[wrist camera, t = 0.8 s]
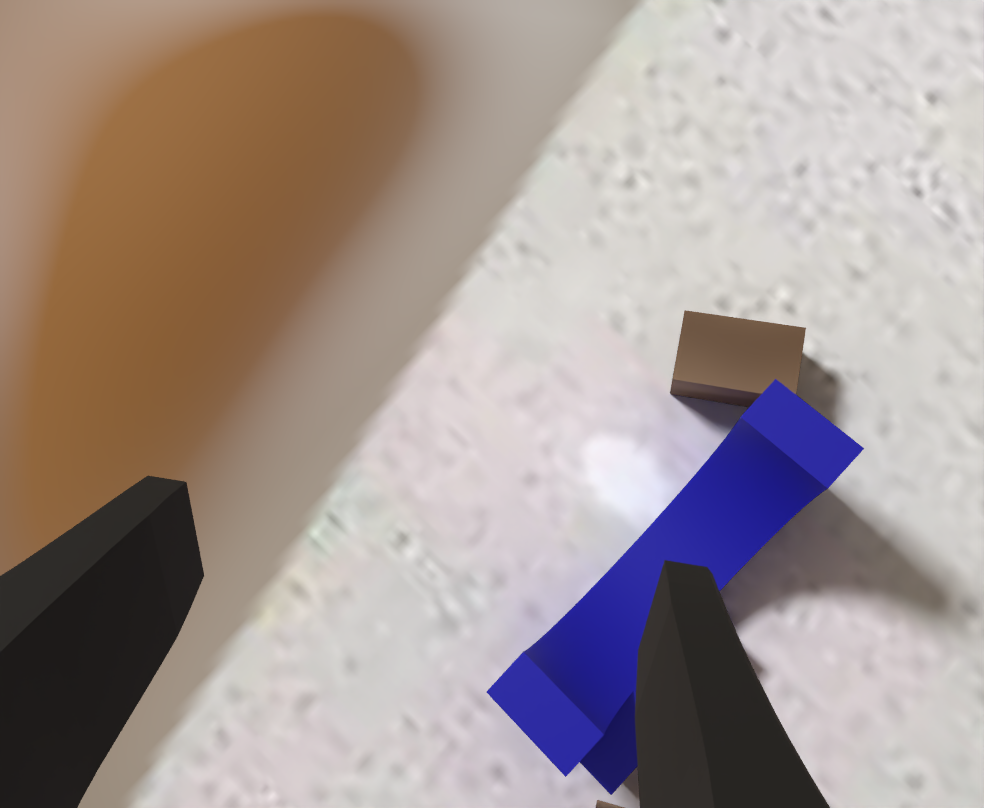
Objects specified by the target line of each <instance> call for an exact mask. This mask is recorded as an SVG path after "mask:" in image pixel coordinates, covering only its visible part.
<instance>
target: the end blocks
mask: <svg viewBox="0 0 984 808" xmlns="http://www.w3.org/2000/svg"><path fill="white" fill-rule="evenodd" d="M805 330H806V328H803V327H796V326H789V325H782V324H775V323H768V322H761V321H754V320H747V319H740V318H733V317H726V316H720V315H713V314H706V313H699V312H692V311H685V312H684V318H683V323H682V329H681V334H680V340H679V346H678V351H677V357H676V362H675V368H674V373H673V379H672V385H671V391H670V394H674V395H680V396H686V397H692V398H698V399H704V400H710V401H716V402H722V403H728V404H734V405H740V406H746V407H750V406H751V405H752V404H753V403H754V402H755V401H756V399H757V398H758V397H759V396H760V395H761V394H762V393H763V392H764V391H765V390H766V389H767V388H768V387H769V385H770V384H771V383H772V382H773V381H774V380H775V379H777V380H778V381H779V382H780V383H782V384H783V385H784V386H785V387H787V388H788V389H789V390H791V391H792V392H793V393H794V394H796V392H797V385H798V378H799V371H800V364H801V357H802V351H803V344H804V337H805ZM596 808H624V807H620V806H617V805H613V804H610V803H606V802H603V801H599V800H597V804H596Z"/></svg>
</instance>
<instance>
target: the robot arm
mask: <svg viewBox="0 0 984 808" xmlns="http://www.w3.org/2000/svg"><path fill="white" fill-rule="evenodd" d="M203 577H204V572H203V567H202V562H201V557H200V551H199V546H198V541H197V536H196V530H195V525H194V520H193V515H192V509H191V505H190V499H189V494H188V488H187V483H186V482H184V481H177V480H171V479H165V478H159V477H152V476H147V477H145V478H144V479H142V480H141V481H139V482H138V483H136V484H135V485H133V486H132V487H130V488H129V489H127V490H126V491H124V492H123V493H122V494H120V495H119V496H117V497H116V498H114V499H113V500H112V501H110V502H109V503H107V504H106V505H104V506H103V507H102V508H100V509H99V510H97V511H96V512H95V513H93V514H92V515H90V516H89V517H87V518H86V519H84V520H83V521H82V522H80V523H79V524H77V525H76V526H74V527H73V528H72V529H70V530H69V531H67V532H66V533H64V534H63V535H61V536H60V537H58V538H57V539H55V540H54V541H53V542H51V543H49V544H48V545H47V546H45V547H44V548H42V549H41V550H39V551H38V552H36V553H35V554H33V555H32V556H30V557H29V558H27V559H26V560H25V561H23V562H21V563H20V564H18V565H17V566H15V567H14V568H12V569H11V570H9V571H8V572H6V573H5V574H3V575H2V576H0V808H77V807H78V805H79V803H80V801H81V799H82V797H83V795H84V794H85V792H86V790H87V788H88V787H89V785H90V783H91V781H92V779H93V777H94V776H95V774H96V772H97V770H98V768H99V767H100V765H101V763H102V762H103V760H104V759H105V757H106V755H107V754H108V752H109V750H110V748H111V747H112V745H113V744H114V742H115V740H116V739H117V737H118V735H119V734H120V732H121V730H122V729H123V727H124V725H125V724H126V722H127V720H128V719H129V717H130V715H131V714H132V712H133V710H134V709H135V707H136V705H137V704H138V702H139V701H140V699H141V697H142V695H143V694H144V692H145V691H146V689H147V687H148V686H149V684H150V682H151V681H152V679H153V677H154V675H155V674H156V672H157V670H158V669H159V667H160V665H161V664H162V662H163V660H164V659H165V657H166V655H167V654H168V652H169V650H170V648H171V647H172V645H173V643H174V642H175V640H176V638H177V636H178V634H179V632H180V630H181V628H182V625H183V623H184V621H185V619H186V617H187V615H188V612H189V610H190V608H191V605H192V603H193V601H194V598H195V596H196V594H197V591H198V589H199V586H200V584H201V581H202V579H203ZM635 730H636V748H637V765H638V781H639V797H640V808H830V807H829V805H828V804H827V802H826V800H825V799H824V797H823V796H822V794H821V792H820V791H819V789H818V787H817V786H816V784H815V782H814V781H813V779H812V777H811V776H810V774H809V772H808V771H807V769H806V767H805V765H804V764H803V762H802V760H801V758H800V757H799V755H798V753H797V751H796V750H795V748H794V746H793V744H792V743H791V741H790V739H789V737H788V735H787V734H786V732H785V730H784V728H783V726H782V724H781V722H780V721H779V719H778V717H777V715H776V713H775V711H774V709H773V707H772V705H771V703H770V701H769V699H768V697H767V695H766V693H765V691H764V689H763V687H762V685H761V683H760V681H759V680H758V678H757V676H756V674H755V672H754V669H753V667H752V665H751V663H750V661H749V659H748V657H747V655H746V653H745V650H744V648H743V646H742V644H741V642H740V639H739V637H738V635H737V633H736V630H735V628H734V626H733V624H732V621H731V619H730V616H729V614H728V612H727V609H726V607H725V604H724V602H723V600H722V597H721V594H720V592H719V589H718V587H717V584H716V581H715V579H714V576H713V574H712V572H711V571H710V570H709V569H708V567H704V566H698V565H692V564H686V563H680V562H674V561H668V560H664V564H663V567H662V570H661V574H660V577H659V581H658V584H657V587H656V591H655V594H654V598H653V601H652V604H651V608H650V611H649V615H648V618H647V621H646V625H645V628H644V632H643V635H642V638H641V642H640V645H639V649H638V661H637V679H636V701H635Z"/></svg>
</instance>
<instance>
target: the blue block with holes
mask: <svg viewBox="0 0 984 808" xmlns="http://www.w3.org/2000/svg"><path fill="white" fill-rule="evenodd" d="M863 449H864V448H863V447H861V446H860V445H859V444H858V443H856V442H855V441H854V440H853V439H851V438H850V437H849V436H848V435H846V434H845V433H844V432H842V431H841V430H840V429H839V428H837V427H836V426H835V425H834V424H832V423H831V422H830V421H829V420H827V419H826V418H825V417H823V416H822V415H821V414H820V413H818V412H817V411H816V410H815V409H813V408H812V407H811V406H810V405H808V404H807V403H806V402H804V401H803V400H802V399H801V398H799V397H798V396H797V395H796V394H794V393H793V392H792V391H791V390H789V389H788V388H787V387H785V386H784V385H783V384H782V383H780V382H779V381H778V380H777V379H775V380H774V381H773V382H772V383H771V384H770V385H769V387H768V388H767V389H766V390H765V391H764V392H763V393H762V394H761V395H760V396H759V397H758V398H757V399H756V401H755V402H754V403H753V404H752V405H751V406H750V407H749V408H748V409H747V410H746V411H745V412H744V414H743V415H742V416H741V417H740V418H739V420H738V422H737V423H736V424H735V426H734V427H733V429H732V430H731V431H730V433H729V434H728V435H727V437H726V438H725V439H724V440H723V442H722V443H721V444H720V445H719V447H718V448H717V449H716V450H715V452H714V453H713V454H712V455H711V457H710V458H709V459H708V460H707V461H706V463H705V464H704V465H703V466H702V467H701V468H700V470H699V471H698V472H697V473H696V474H695V476H694V477H693V478H692V479H691V480H690V481H689V482H688V484H687V485H686V486H685V487H684V488H683V489H682V491H681V492H680V493H679V494H678V495H677V496H676V497H675V499H674V500H673V501H672V502H671V503H670V504H669V505H668V506H667V508H666V509H665V510H664V511H663V512H662V513H661V514H660V515H659V517H658V518H657V519H656V520H655V521H654V522H653V523H652V524H651V525H650V527H649V528H648V529H647V530H646V531H645V532H644V533H643V534H642V535H641V536H640V537H639V539H638V540H637V541H636V542H635V543H634V544H633V545H632V546H631V547H630V548H629V549H628V550H627V552H626V553H625V554H624V555H623V556H622V557H621V558H620V559H619V560H618V561H617V562H616V563H615V564H614V565H613V567H612V568H611V569H610V570H609V571H608V572H607V573H606V574H605V575H604V576H603V577H602V578H601V579H600V580H599V581H598V582H597V583H596V584H595V585H594V586H593V587H592V588H591V590H590V591H589V592H588V593H587V594H586V595H585V596H584V597H583V598H582V599H581V600H580V601H579V602H578V603H577V604H576V605H575V606H574V607H573V608H572V609H571V610H570V611H569V612H568V613H567V614H566V615H565V616H564V617H563V618H562V619H561V620H560V621H559V622H558V623H557V624H556V625H554V626H553V627H552V628H551V629H550V630H549V631H548V632H547V633H546V634H545V635H544V636H543V637H542V638H540V639H539V640H538V641H537V642H536V643H535V644H534V645H532V646H531V647H530V648H529V649H527V650H526V651H524V652H523V653H522V654H521V655H520V656H519V657H518V658H517V659H516V660H515V662H514V663H513V664H512V665H511V666H510V667H509V668H508V669H507V670H506V671H505V672H504V673H503V675H502V676H501V677H500V678H499V679H498V680H497V681H496V682H495V683H494V684H493V685H492V686H491V688H490V689H489V690H488V691H487V693H488V694H489V695H490V696H491V698H492V699H493V700H494V701H495V702H496V703H497V704H498V705H499V706H500V707H501V708H502V709H503V710H504V711H505V712H506V714H507V715H508V716H509V717H510V718H511V719H512V720H513V721H514V722H515V723H516V724H517V725H518V726H519V727H520V728H521V730H522V731H523V732H524V733H525V734H526V735H527V736H528V737H529V738H530V739H531V740H532V741H533V742H534V743H535V745H536V746H537V747H538V748H539V749H540V750H541V751H542V752H543V753H544V754H545V755H546V756H547V757H548V758H549V759H550V761H551V762H552V763H553V764H554V765H555V766H556V767H557V768H558V769H559V770H560V771H561V772H562V773H563V774H564V775H565V777H566V776H567V775H568V774H569V773H570V772H571V771H572V769H573V768H574V767H575V766H576V765H577V764H578V763H579V762H580V763H581V764H582V765H583V766H584V767H585V768H586V769H587V770H588V771H589V772H590V773H591V774H592V775H593V776H594V778H595V779H596V780H597V781H598V782H599V783H600V784H601V785H602V786H603V787H604V788H605V789H606V790H607V791H608V792H609V793H610V794H611V795H612V794H613V793H614V791H615V790H616V789H617V788H618V787H619V786H620V785H621V784H622V783H623V781H624V780H625V779H626V778H627V777H628V776H629V775H630V774H631V773H632V772H633V770H634V769H635V768H636V767H637V766H638V765H637V748H636V730H635V701H636V679H637V661H638V649H639V645H640V642H641V638H642V635H643V632H644V628H645V625H646V621H647V618H648V615H649V611H650V608H651V604H652V601H653V598H654V594H655V591H656V587H657V584H658V581H659V577H660V574H661V570H662V567H663V564H664V560H668V561H674V562H680V563H686V564H692V565H698V566H704V567H708V569H709V570H710V571H711V572H712V574H713V576H714V579H715V581H716V584H717V587H718V589H719V591H720V590H721V589H722V588H723V587H724V586H725V585H726V584H727V583H728V582H729V581H730V580H731V578H732V577H733V576H734V575H735V574H736V573H737V572H738V571H739V570H740V569H741V568H742V567H743V566H744V565H745V564H746V563H747V562H748V561H749V560H750V559H751V558H752V557H753V556H754V555H755V554H756V553H757V552H758V551H759V550H760V549H761V548H762V547H763V546H764V545H765V544H766V543H767V542H768V541H769V540H770V539H771V538H772V537H773V536H774V535H775V534H776V533H777V532H778V531H779V530H780V529H781V528H782V527H783V526H784V525H785V524H786V523H787V522H788V521H789V520H790V519H791V518H793V517H794V516H795V515H796V514H797V513H798V512H799V511H800V510H801V509H802V508H804V507H805V506H806V505H807V504H808V503H809V502H810V501H812V500H813V499H814V498H815V497H817V496H818V495H819V494H820V493H822V492H823V491H825V490H826V489H828V488H829V487H830V485H831V484H832V483H833V482H834V481H835V480H836V479H837V478H838V477H839V476H840V474H841V473H842V472H843V471H844V470H845V469H846V468H847V467H848V466H849V465H850V463H851V462H852V461H853V460H854V459H855V458H856V457H857V456H858V455H859V454H860V452H861V451H862V450H863Z"/></svg>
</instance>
